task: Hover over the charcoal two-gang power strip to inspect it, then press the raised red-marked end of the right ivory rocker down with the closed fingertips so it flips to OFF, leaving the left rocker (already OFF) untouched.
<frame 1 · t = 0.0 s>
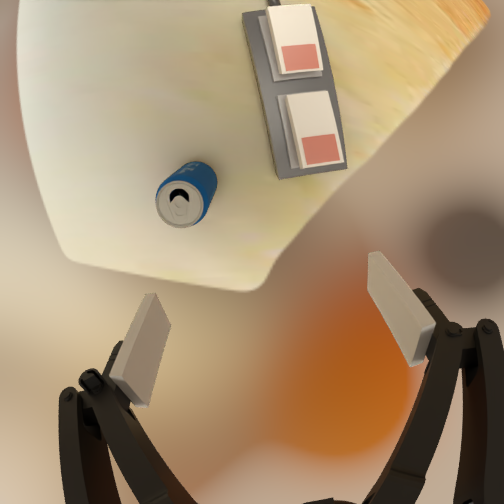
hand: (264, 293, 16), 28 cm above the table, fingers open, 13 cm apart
rocker 1: (314, 129, 30), point 8 cm above the table, hinge at -13.0°
beverage can: (197, 181, 41), on the table
rocker 2: (294, 38, 24), point 8 cm above the table, hinge at 12.0°
power strip: (293, 89, 34), on the table
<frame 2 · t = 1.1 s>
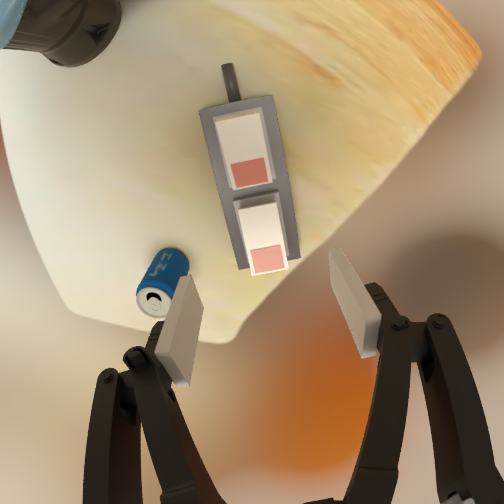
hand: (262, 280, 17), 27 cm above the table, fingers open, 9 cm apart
rocker 1: (263, 238, 37), point 8 cm above the table, hinge at -13.0°
beverage can: (172, 262, 48), on the table
rocker 2: (244, 150, 32), point 8 cm above the table, hinge at 12.0°
power strip: (253, 181, 42), on the table
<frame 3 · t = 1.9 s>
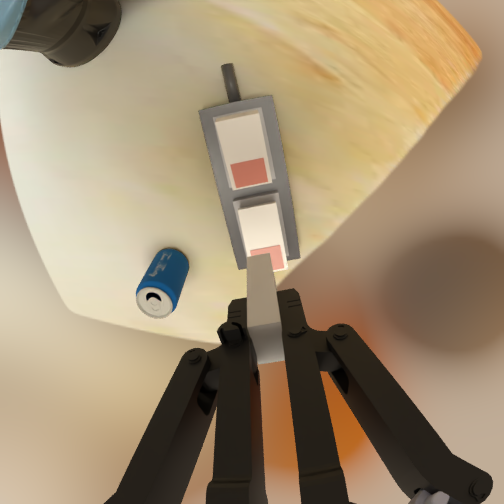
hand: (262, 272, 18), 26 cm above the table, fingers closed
rocker 1: (263, 238, 37), point 8 cm above the table, hinge at -13.0°
beverage can: (172, 262, 48), on the table
rocker 2: (244, 150, 32), point 8 cm above the table, hinge at 12.0°
power strip: (253, 181, 42), on the table
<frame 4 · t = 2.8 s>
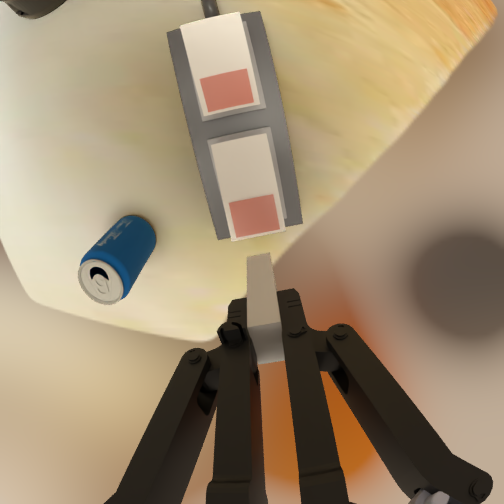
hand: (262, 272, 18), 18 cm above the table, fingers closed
rocker 1: (249, 187, 25), point 8 cm above the table, hinge at -13.0°
beverage can: (136, 234, 36), on the table
rocker 2: (221, 62, 19), point 8 cm above the table, hinge at 12.0°
power strip: (237, 122, 29), on the table
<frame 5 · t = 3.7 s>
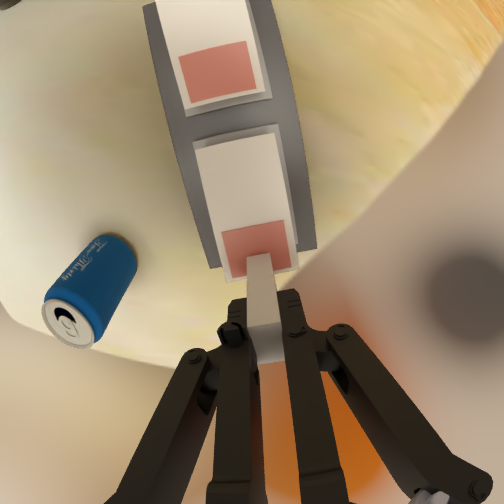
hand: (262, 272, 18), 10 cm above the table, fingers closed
rocker 1: (249, 207, 18), point 8 cm above the table, hinge at -10.8°, touching gripper
beverage can: (114, 256, 29), on the table
rocker 2: (209, 35, 13), point 8 cm above the table, hinge at 12.0°
power strip: (234, 118, 23), on the table
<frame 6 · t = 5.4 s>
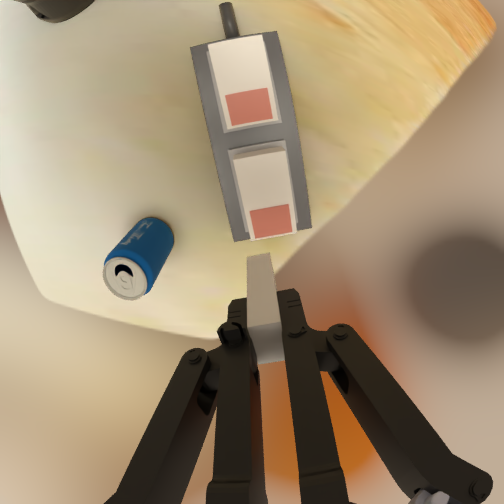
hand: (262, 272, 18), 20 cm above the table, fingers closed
rocker 1: (266, 194, 28), point 8 cm above the table, hinge at 5.5°
beverage can: (154, 235, 39), on the table
rocker 2: (243, 80, 23), point 8 cm above the table, hinge at 12.0°
power strip: (253, 134, 33), on the table
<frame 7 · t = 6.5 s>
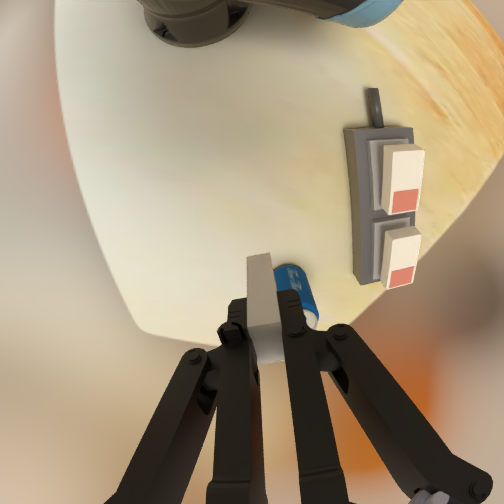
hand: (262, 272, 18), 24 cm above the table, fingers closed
rocker 1: (400, 258, 36), point 8 cm above the table, hinge at 6.3°
beverage can: (287, 278, 47), on the table
rocker 2: (402, 179, 31), point 8 cm above the table, hinge at 12.0°
power strip: (378, 203, 41), on the table
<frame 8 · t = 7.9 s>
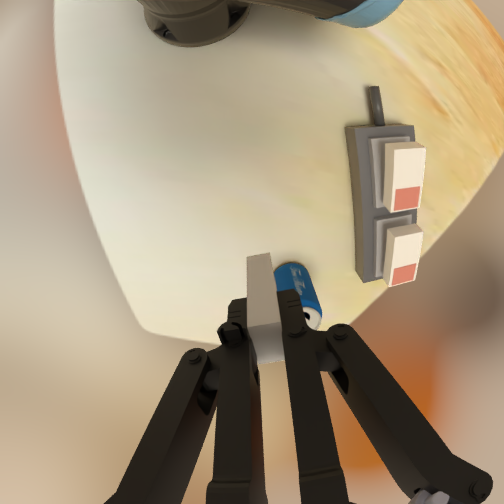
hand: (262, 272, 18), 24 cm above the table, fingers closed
rocker 1: (402, 256, 36), point 8 cm above the table, hinge at 6.4°
beverage can: (289, 276, 47), on the table
rocker 2: (404, 177, 31), point 8 cm above the table, hinge at 12.0°
power strip: (380, 200, 41), on the table
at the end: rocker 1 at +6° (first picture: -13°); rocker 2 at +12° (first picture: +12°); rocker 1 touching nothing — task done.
